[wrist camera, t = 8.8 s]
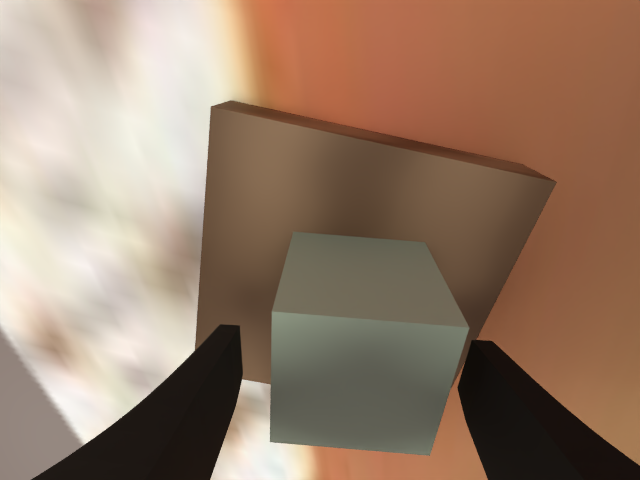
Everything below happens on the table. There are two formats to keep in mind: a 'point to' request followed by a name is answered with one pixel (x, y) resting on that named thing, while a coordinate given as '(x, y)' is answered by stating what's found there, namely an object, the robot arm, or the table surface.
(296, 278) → the sage wooden cube
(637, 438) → the table surface
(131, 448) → the robot arm
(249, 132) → the walnut riser block
